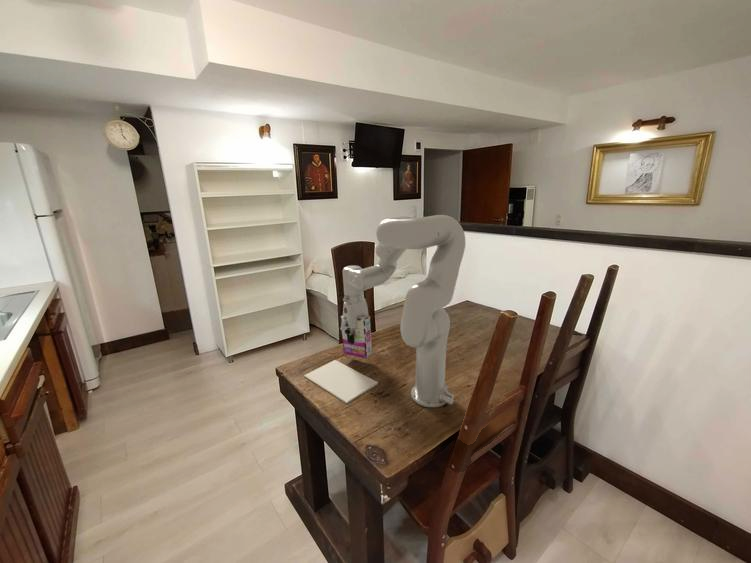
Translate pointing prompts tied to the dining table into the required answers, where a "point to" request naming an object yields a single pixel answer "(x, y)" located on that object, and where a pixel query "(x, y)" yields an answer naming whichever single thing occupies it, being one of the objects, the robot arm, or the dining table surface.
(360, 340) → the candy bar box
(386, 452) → the dining table surface
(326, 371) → the mat
